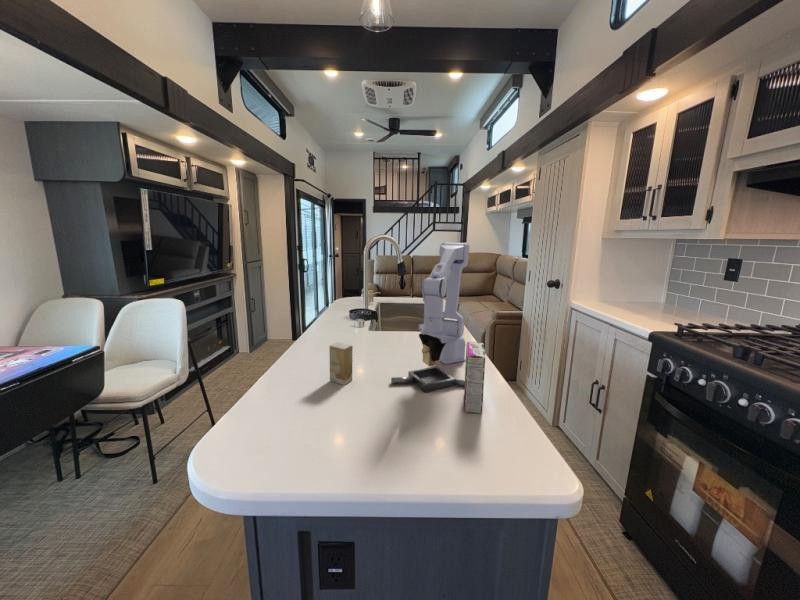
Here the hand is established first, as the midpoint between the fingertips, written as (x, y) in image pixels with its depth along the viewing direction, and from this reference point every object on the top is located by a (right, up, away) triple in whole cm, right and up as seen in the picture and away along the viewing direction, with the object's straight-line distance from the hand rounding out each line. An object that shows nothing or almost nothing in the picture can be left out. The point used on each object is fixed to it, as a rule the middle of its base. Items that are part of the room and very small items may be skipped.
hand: (431, 357), depth 102 cm
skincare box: (-29, -8, +2) cm, 30 cm away
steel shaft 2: (+10, -9, -1) cm, 14 cm away
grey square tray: (0, -8, +2) cm, 8 cm away
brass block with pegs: (0, -2, 0) cm, 2 cm away
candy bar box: (+10, -11, -11) cm, 19 cm away
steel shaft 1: (-9, -8, +1) cm, 13 cm away
